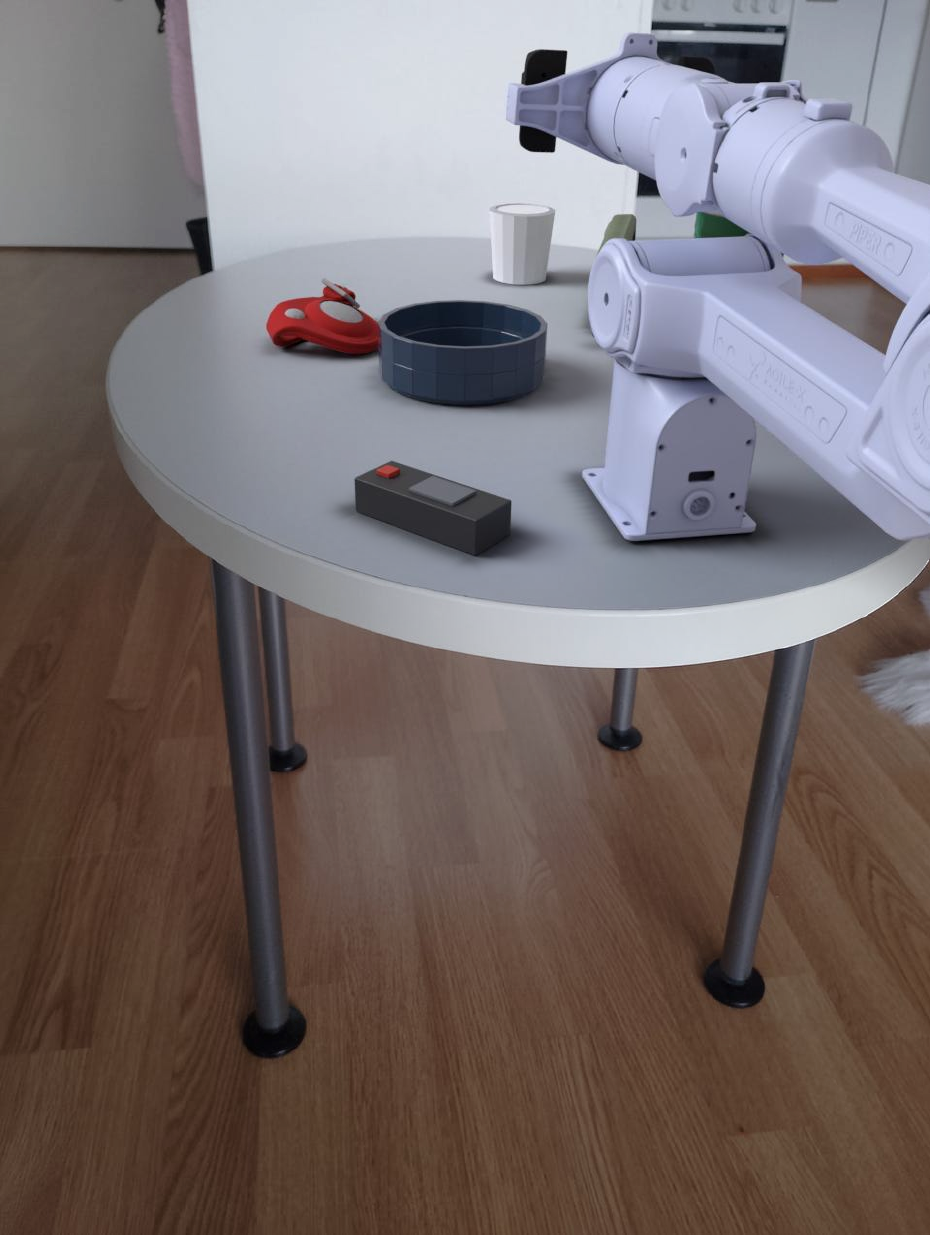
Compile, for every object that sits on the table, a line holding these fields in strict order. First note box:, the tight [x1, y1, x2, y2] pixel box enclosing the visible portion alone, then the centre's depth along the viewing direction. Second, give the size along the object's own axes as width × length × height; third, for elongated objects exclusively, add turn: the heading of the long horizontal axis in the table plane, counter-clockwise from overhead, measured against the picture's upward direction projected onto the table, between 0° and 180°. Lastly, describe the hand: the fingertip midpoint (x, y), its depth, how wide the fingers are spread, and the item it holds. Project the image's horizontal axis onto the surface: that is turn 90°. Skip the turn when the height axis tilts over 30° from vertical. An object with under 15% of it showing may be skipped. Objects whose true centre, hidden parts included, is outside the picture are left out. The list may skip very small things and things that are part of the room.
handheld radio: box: [591, 213, 637, 338], centre depth 100 cm, size 7×3×25 cm
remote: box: [354, 460, 513, 556], centre depth 61 cm, size 9×3×2 cm, turn 53°
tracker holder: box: [265, 277, 379, 355], centre depth 91 cm, size 12×4×10 cm
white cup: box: [489, 203, 556, 286], centre depth 110 cm, size 7×7×7 cm
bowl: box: [377, 299, 549, 406], centre depth 83 cm, size 13×13×4 cm
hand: (580, 91), depth 70 cm, fingers open, 7 cm apart
